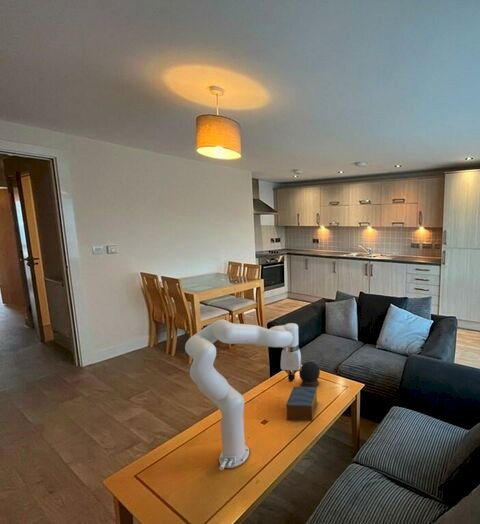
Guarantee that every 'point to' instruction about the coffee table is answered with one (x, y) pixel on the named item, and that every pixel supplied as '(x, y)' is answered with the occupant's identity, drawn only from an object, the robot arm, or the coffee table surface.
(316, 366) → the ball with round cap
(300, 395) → the blue-grey square panel
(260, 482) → the coffee table surface
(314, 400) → the brown box
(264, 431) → the coffee table surface
